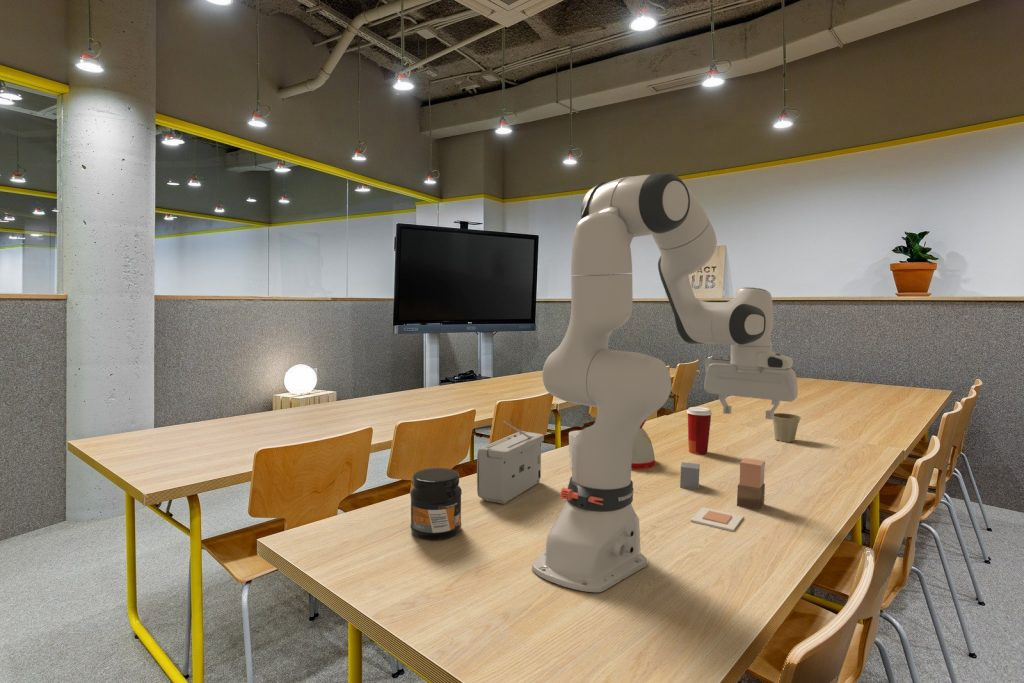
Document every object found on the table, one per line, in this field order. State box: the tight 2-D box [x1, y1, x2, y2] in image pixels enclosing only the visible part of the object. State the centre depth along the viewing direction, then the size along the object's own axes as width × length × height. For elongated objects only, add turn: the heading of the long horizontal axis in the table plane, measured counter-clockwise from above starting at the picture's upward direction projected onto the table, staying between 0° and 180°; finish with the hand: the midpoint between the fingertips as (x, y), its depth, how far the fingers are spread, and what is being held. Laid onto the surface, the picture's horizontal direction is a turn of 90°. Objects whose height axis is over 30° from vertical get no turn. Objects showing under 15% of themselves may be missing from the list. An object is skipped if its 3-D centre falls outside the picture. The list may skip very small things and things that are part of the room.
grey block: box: [679, 461, 701, 491], centre depth 146 cm, size 4×4×6 cm
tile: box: [689, 506, 744, 532], centre depth 123 cm, size 9×9×1 cm
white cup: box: [568, 429, 583, 469], centre depth 160 cm, size 8×8×10 cm
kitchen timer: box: [631, 419, 656, 470], centre depth 166 cm, size 14×14×15 cm
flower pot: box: [771, 412, 802, 443], centre depth 194 cm, size 9×9×9 cm
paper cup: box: [686, 406, 713, 456], centre depth 178 cm, size 8×8×14 cm
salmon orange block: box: [738, 457, 766, 489], centre depth 132 cm, size 4×4×6 cm
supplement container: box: [409, 467, 463, 541], centre depth 116 cm, size 10×10×12 cm
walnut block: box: [736, 482, 766, 512], centre depth 132 cm, size 5×5×5 cm
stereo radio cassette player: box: [476, 420, 545, 505], centre depth 140 cm, size 21×8×20 cm, turn 150°
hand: (747, 416), depth 132 cm, fingers open, 8 cm apart
